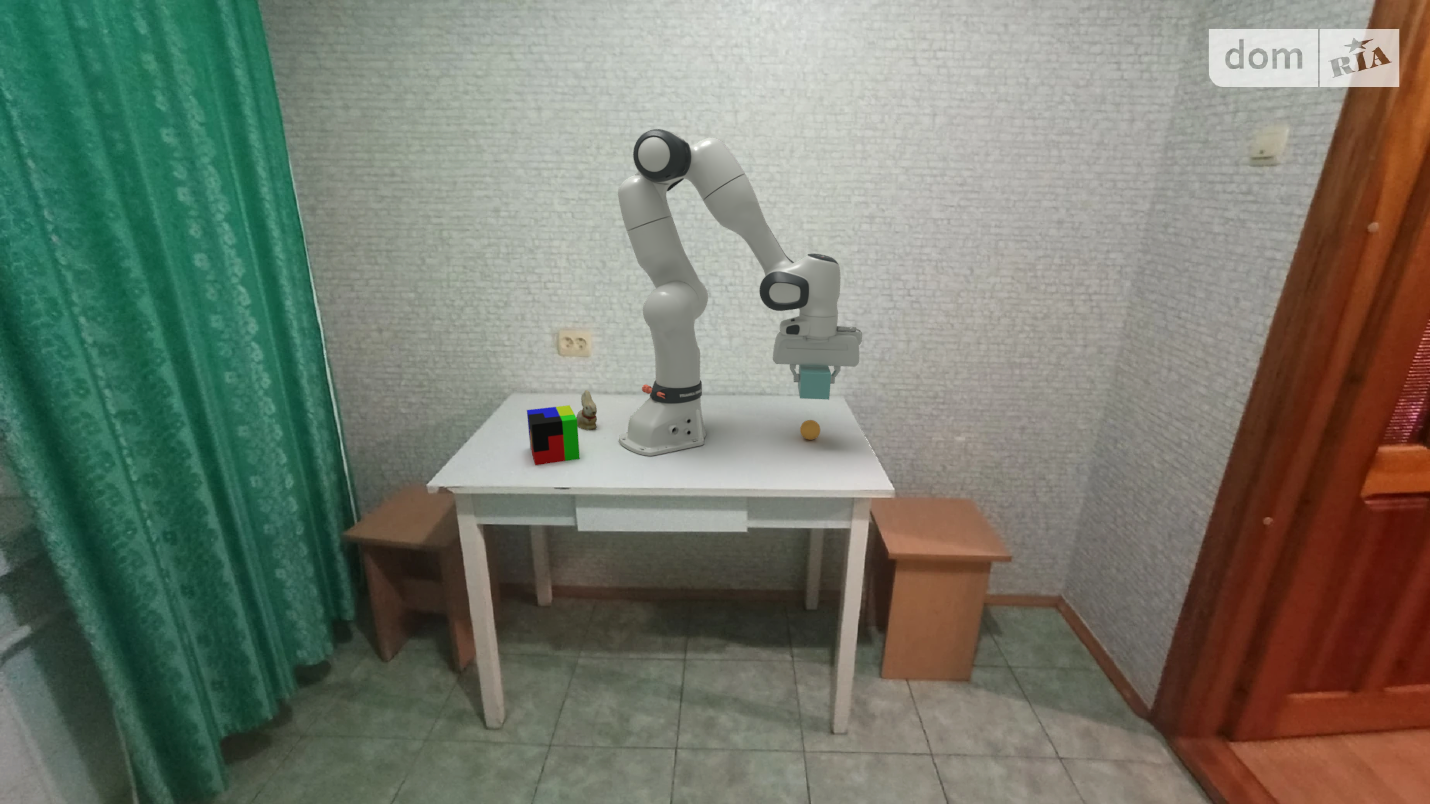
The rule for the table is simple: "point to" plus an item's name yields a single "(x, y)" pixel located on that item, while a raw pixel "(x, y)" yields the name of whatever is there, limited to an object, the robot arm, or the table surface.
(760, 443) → the table surface
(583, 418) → the chocolate bunny
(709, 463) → the table surface
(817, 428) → the ball
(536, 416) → the puzzle toy
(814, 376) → the teal rectangular box
